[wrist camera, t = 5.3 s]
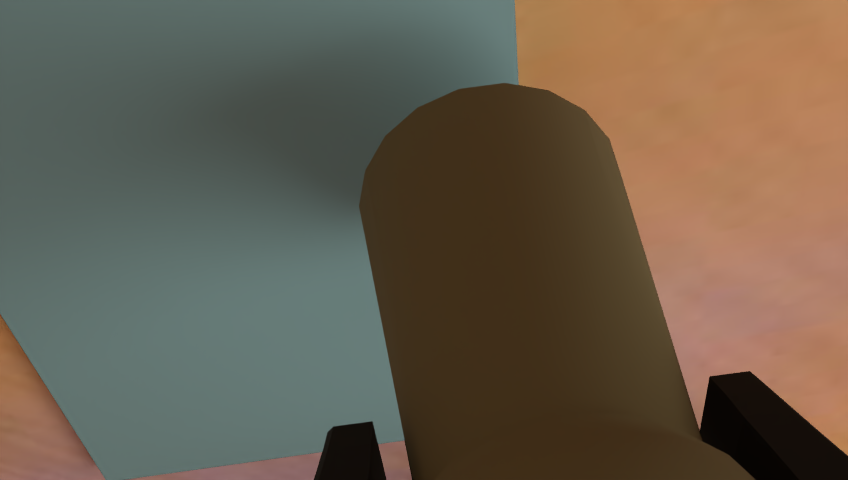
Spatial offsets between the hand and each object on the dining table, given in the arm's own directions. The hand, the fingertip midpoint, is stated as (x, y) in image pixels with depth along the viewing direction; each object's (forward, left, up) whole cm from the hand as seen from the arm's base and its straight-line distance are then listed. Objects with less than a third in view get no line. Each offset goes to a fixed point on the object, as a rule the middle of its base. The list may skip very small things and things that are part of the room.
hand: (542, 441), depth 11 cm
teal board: (-2, +7, -10) cm, 12 cm away
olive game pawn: (0, 0, -6) cm, 7 cm away
